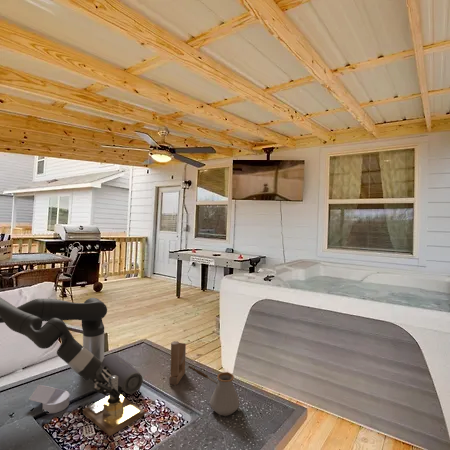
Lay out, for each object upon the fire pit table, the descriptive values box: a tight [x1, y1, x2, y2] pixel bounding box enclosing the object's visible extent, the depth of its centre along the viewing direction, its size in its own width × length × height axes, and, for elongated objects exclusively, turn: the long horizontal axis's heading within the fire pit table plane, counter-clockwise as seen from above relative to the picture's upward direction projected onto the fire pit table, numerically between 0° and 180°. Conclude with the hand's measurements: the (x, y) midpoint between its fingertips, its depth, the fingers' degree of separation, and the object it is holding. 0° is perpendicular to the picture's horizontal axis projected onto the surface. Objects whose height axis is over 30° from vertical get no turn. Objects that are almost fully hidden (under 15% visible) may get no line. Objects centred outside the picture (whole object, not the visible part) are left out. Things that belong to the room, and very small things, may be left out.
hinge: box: [86, 394, 140, 429], centre depth 114 cm, size 17×11×4 cm, turn 52°
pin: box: [108, 375, 118, 404], centre depth 114 cm, size 3×3×12 cm
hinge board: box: [82, 397, 145, 437], centre depth 114 cm, size 18×14×2 cm
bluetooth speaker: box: [101, 353, 144, 395], centre depth 133 cm, size 23×9×10 cm, turn 44°
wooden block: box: [168, 340, 187, 386], centre depth 139 cm, size 4×11×18 cm, turn 168°
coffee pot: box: [186, 365, 240, 417], centre depth 119 cm, size 21×12×15 cm, turn 77°
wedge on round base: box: [28, 384, 70, 414], centre depth 118 cm, size 9×7×13 cm
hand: (119, 393), depth 114 cm, fingers open, 3 cm apart
